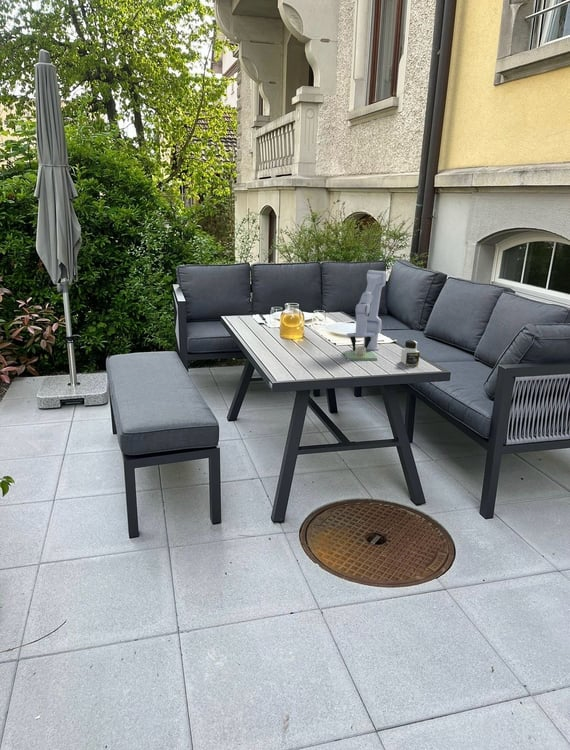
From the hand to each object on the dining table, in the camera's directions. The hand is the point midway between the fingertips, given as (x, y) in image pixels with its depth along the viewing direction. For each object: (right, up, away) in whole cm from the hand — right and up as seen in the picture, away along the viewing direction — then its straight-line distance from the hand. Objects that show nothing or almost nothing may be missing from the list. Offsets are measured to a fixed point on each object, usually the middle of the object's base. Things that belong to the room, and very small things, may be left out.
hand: (359, 350), depth 306 cm
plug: (0, -2, 0) cm, 2 cm away
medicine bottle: (+25, -7, -10) cm, 28 cm away
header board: (0, -4, -1) cm, 4 cm away
